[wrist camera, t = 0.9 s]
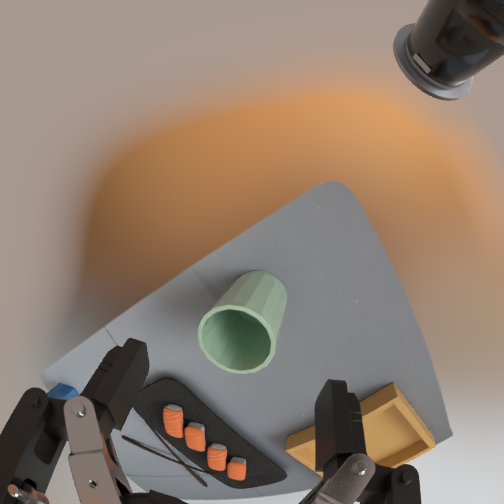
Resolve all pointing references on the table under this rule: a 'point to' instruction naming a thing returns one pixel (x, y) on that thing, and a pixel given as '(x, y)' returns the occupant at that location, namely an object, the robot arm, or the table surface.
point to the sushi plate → (202, 437)
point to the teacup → (244, 323)
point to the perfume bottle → (62, 392)
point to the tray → (377, 432)
